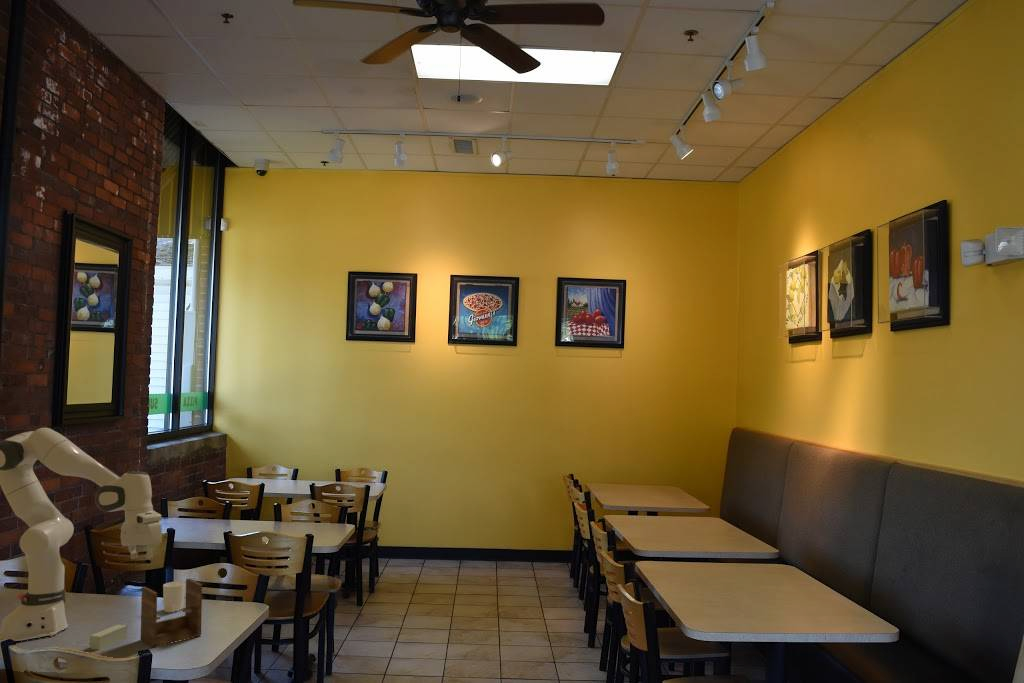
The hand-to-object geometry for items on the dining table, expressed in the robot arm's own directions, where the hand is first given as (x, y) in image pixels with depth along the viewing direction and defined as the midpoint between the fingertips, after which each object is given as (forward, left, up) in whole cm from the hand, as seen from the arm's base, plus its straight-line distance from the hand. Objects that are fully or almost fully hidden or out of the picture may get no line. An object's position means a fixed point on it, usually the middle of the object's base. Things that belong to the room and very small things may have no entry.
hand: (142, 558), depth 260 cm
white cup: (+22, +28, -29) cm, 46 cm away
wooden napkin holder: (+9, -4, -28) cm, 30 cm away
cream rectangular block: (-8, +6, -29) cm, 30 cm away
